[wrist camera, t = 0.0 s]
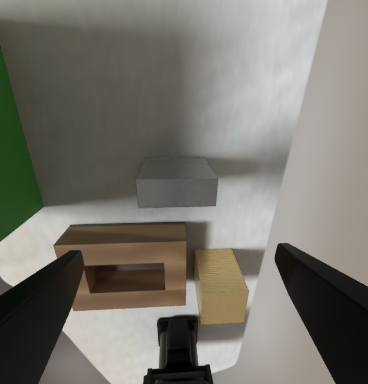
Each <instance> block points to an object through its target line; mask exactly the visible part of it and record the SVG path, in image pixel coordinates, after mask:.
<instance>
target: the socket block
mask: <svg viewBox="0 0 368 384" xmlns="http://www.w3.org/2000/svg"><path fill="white" fill-rule="evenodd" d="M53 246H54V249H55V253H56V256H57V258H59V257H61V256H62V255H64V254H65V253H67V252H68V251H70V250H81V252H82V255H83V259H84V264H85V268H84V272H83V275H82V278H81V281H80V284H79V288H78V291H77V294H76V297H75V300H74V303H73V305H72V308H73V311H85V310H105V309H125V308H144V307H164V306H184V305H186V233H185V224H184V222H158V223H122V224H86V225H70V226H69V227H68V229H67V230H66V231H65V232H64V233H63V235H62V236H61V237H60V238H59V239H58V241H57V242H56V243H55V244H54V245H53Z"/></svg>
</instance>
